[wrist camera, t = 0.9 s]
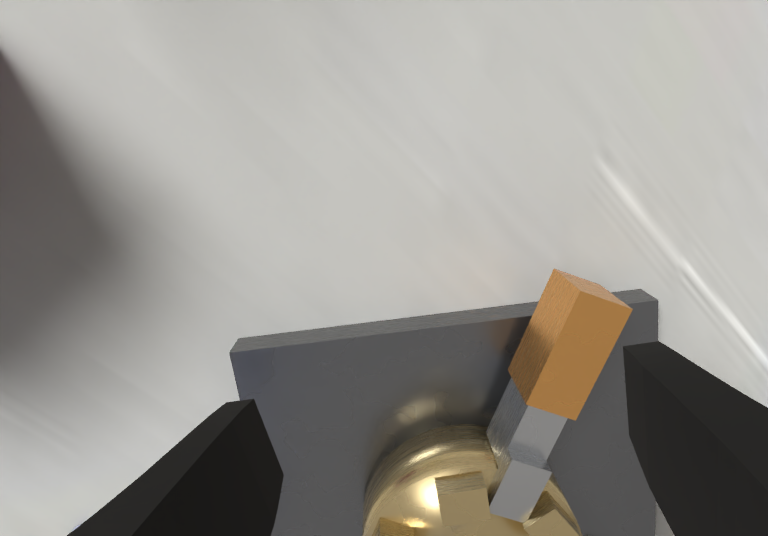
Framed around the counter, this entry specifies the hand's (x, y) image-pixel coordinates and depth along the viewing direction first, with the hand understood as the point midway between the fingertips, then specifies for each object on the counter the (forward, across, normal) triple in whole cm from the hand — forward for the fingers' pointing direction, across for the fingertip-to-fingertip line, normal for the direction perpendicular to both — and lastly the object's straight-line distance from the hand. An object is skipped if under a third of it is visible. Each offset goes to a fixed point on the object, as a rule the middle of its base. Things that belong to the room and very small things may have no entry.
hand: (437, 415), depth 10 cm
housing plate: (+11, +2, +13) cm, 18 cm away
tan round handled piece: (+10, -1, +10) cm, 14 cm away
